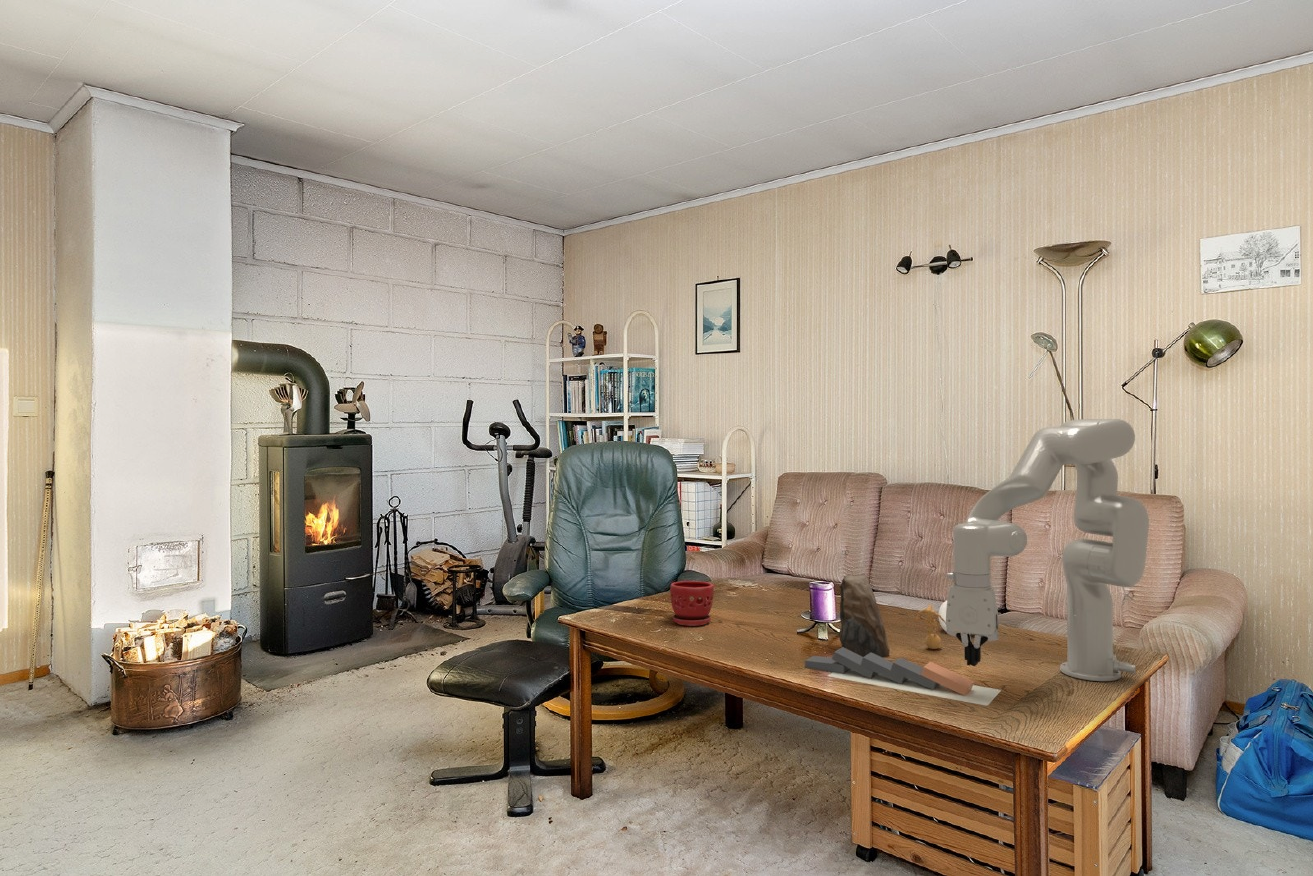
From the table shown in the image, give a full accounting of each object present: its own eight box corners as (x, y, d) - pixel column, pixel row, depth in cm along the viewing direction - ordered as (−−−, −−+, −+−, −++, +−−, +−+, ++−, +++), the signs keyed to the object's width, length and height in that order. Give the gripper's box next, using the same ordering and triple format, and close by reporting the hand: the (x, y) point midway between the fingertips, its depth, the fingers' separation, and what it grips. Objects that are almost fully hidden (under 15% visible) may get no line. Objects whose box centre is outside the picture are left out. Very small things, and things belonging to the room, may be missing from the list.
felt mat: (1001, 691, 177) (1001, 690, 177) (987, 707, 168) (987, 705, 168) (847, 665, 199) (847, 663, 199) (826, 677, 189) (826, 676, 189)
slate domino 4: (942, 676, 181) (900, 657, 187) (935, 682, 177) (893, 662, 183) (940, 684, 182) (898, 665, 187) (933, 690, 178) (890, 670, 183)
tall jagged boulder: (843, 660, 202) (842, 581, 202) (827, 647, 215) (826, 572, 215) (891, 658, 204) (890, 580, 203) (873, 645, 216) (872, 571, 216)
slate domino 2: (880, 666, 190) (842, 647, 196) (872, 671, 186) (834, 651, 191) (878, 673, 190) (840, 654, 196) (870, 679, 186) (832, 659, 192)
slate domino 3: (911, 671, 186) (870, 652, 191) (903, 676, 182) (862, 657, 187) (908, 678, 186) (868, 659, 192) (901, 684, 182) (860, 665, 188)
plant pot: (715, 628, 237) (714, 587, 237) (670, 628, 237) (670, 587, 237) (712, 617, 250) (712, 579, 250) (670, 617, 250) (670, 579, 250)
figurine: (951, 650, 211) (951, 604, 210) (942, 655, 206) (942, 608, 206) (921, 644, 216) (921, 600, 216) (911, 649, 212) (911, 604, 212)
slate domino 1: (851, 660, 194) (813, 655, 200) (843, 665, 190) (804, 660, 196) (852, 668, 194) (814, 663, 200) (843, 673, 190) (805, 668, 196)
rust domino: (974, 681, 177) (930, 661, 183) (967, 687, 173) (923, 667, 179) (971, 689, 178) (927, 669, 183) (965, 696, 174) (920, 675, 179)
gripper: (932, 579, 176) (932, 663, 177) (1004, 587, 167) (1004, 674, 168) (942, 574, 182) (943, 655, 183) (1012, 581, 173) (1013, 665, 174)
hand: (972, 664), depth 175 cm, fingers closed
